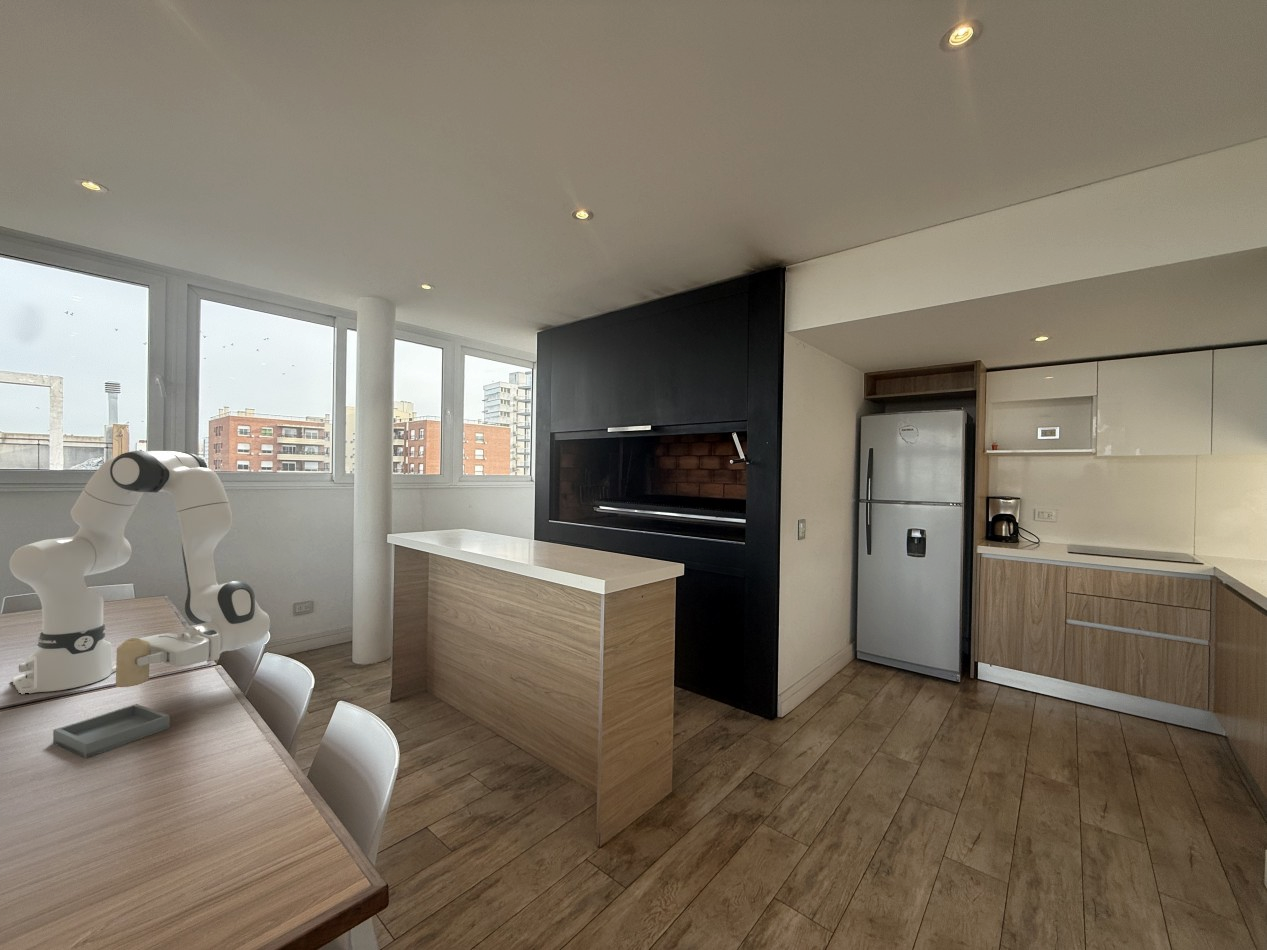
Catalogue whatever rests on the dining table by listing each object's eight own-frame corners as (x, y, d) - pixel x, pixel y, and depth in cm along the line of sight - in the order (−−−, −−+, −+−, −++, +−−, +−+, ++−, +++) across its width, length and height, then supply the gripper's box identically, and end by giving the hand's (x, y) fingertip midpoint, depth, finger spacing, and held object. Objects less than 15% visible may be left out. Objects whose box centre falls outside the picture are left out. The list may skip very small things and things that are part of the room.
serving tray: (53, 743, 108) (53, 729, 108) (136, 715, 120) (136, 703, 120) (86, 758, 102) (86, 744, 102) (169, 728, 115) (169, 715, 115)
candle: (154, 680, 120) (155, 637, 120) (125, 689, 115) (126, 644, 115) (139, 676, 122) (140, 634, 122) (109, 685, 117) (111, 641, 117)
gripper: (175, 624, 135) (104, 639, 122) (223, 635, 127) (153, 652, 114) (174, 648, 135) (104, 666, 122) (222, 660, 127) (152, 680, 114)
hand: (128, 659), depth 118 cm, fingers closed on candle, 5 cm apart
